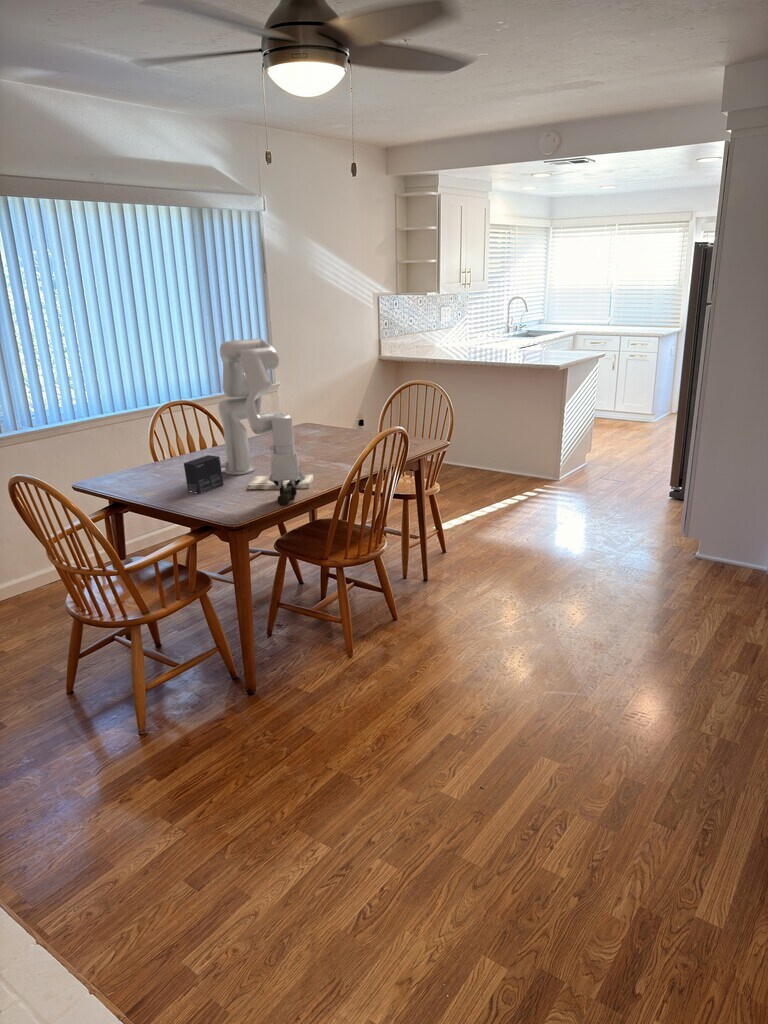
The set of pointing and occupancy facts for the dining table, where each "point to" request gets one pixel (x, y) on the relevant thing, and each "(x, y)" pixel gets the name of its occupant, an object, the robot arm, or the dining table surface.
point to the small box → (203, 473)
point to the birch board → (264, 483)
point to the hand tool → (285, 494)
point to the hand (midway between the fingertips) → (288, 496)
